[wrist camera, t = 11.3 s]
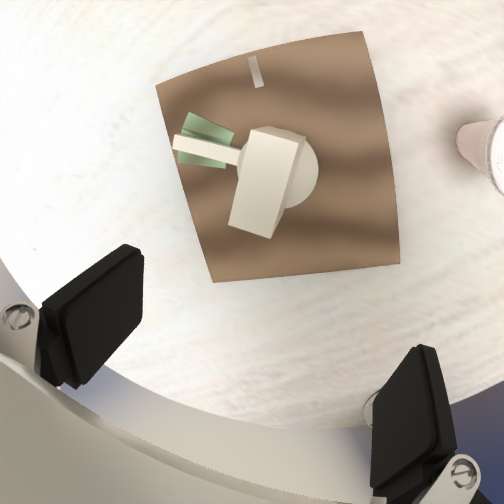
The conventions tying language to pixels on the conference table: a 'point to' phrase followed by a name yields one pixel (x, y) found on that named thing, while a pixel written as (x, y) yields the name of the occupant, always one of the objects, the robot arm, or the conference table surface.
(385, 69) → the conference table surface
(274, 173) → the peg knob
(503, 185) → the smoothie
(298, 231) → the dial board
